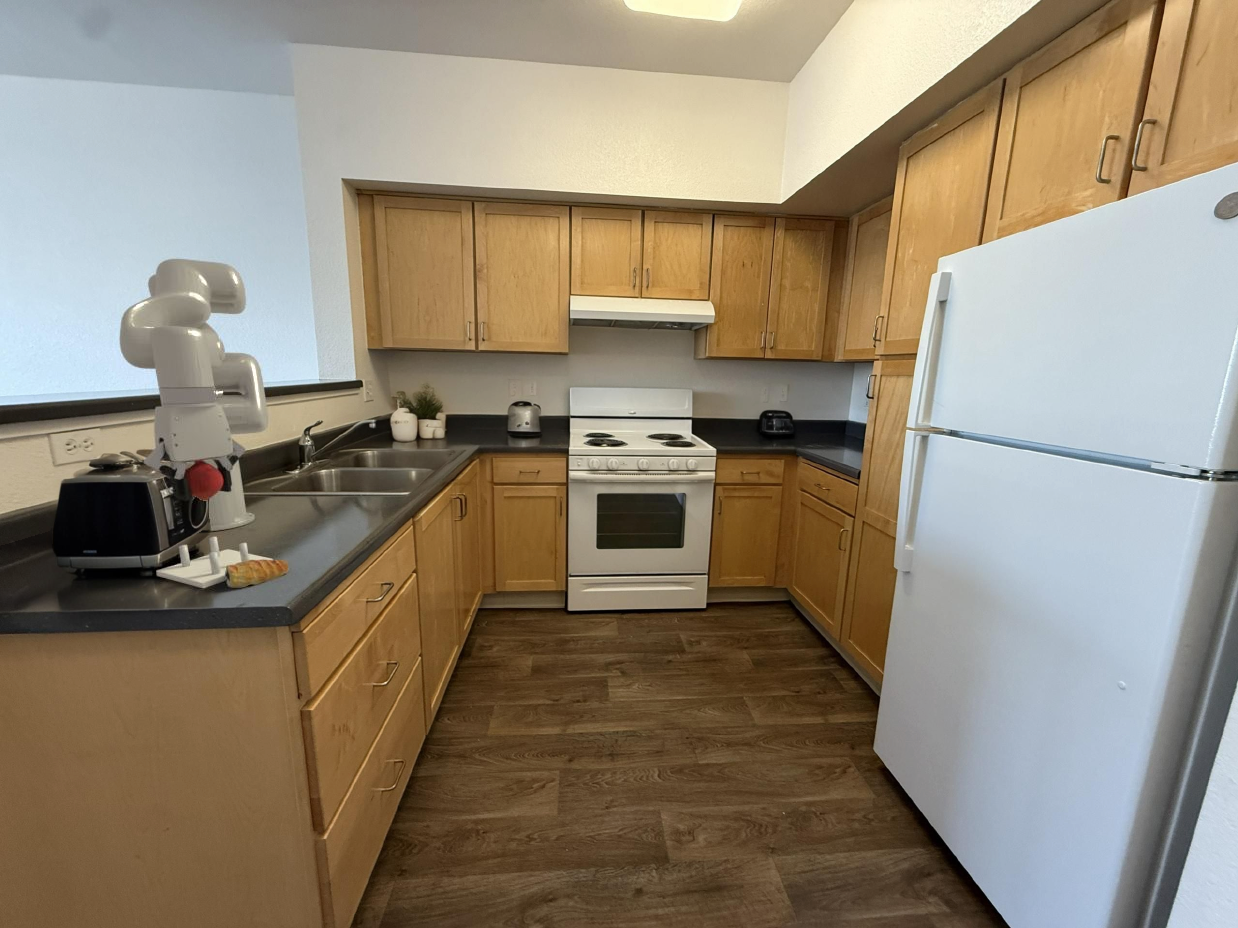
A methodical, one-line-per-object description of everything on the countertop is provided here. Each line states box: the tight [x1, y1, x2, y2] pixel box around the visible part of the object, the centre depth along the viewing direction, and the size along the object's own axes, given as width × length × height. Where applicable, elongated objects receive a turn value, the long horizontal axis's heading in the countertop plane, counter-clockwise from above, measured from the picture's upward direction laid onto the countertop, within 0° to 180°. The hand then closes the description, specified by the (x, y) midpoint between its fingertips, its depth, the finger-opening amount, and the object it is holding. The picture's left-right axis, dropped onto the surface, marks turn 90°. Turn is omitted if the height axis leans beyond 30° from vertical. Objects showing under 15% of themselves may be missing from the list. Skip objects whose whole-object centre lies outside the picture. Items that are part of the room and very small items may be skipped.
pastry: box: [225, 559, 290, 589], centre depth 89 cm, size 9×7×4 cm
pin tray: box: [156, 536, 274, 589], centre depth 93 cm, size 14×12×5 cm
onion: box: [184, 460, 223, 501], centre depth 90 cm, size 6×6×8 cm
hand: (204, 494), depth 90 cm, fingers closed on onion, 5 cm apart
